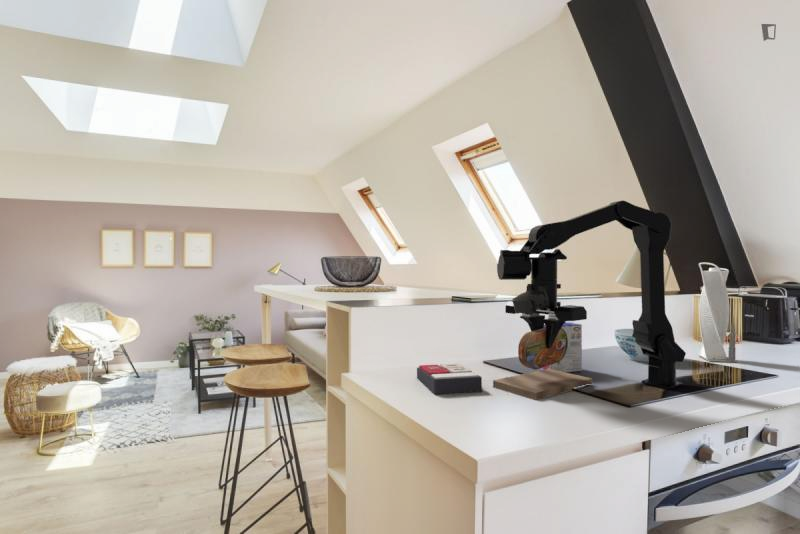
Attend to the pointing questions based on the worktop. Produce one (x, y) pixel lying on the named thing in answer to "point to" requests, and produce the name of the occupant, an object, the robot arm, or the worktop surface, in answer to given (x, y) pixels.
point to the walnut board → (541, 383)
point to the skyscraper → (715, 316)
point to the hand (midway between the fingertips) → (543, 347)
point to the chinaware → (629, 344)
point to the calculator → (449, 379)
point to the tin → (541, 349)
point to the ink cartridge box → (570, 350)
